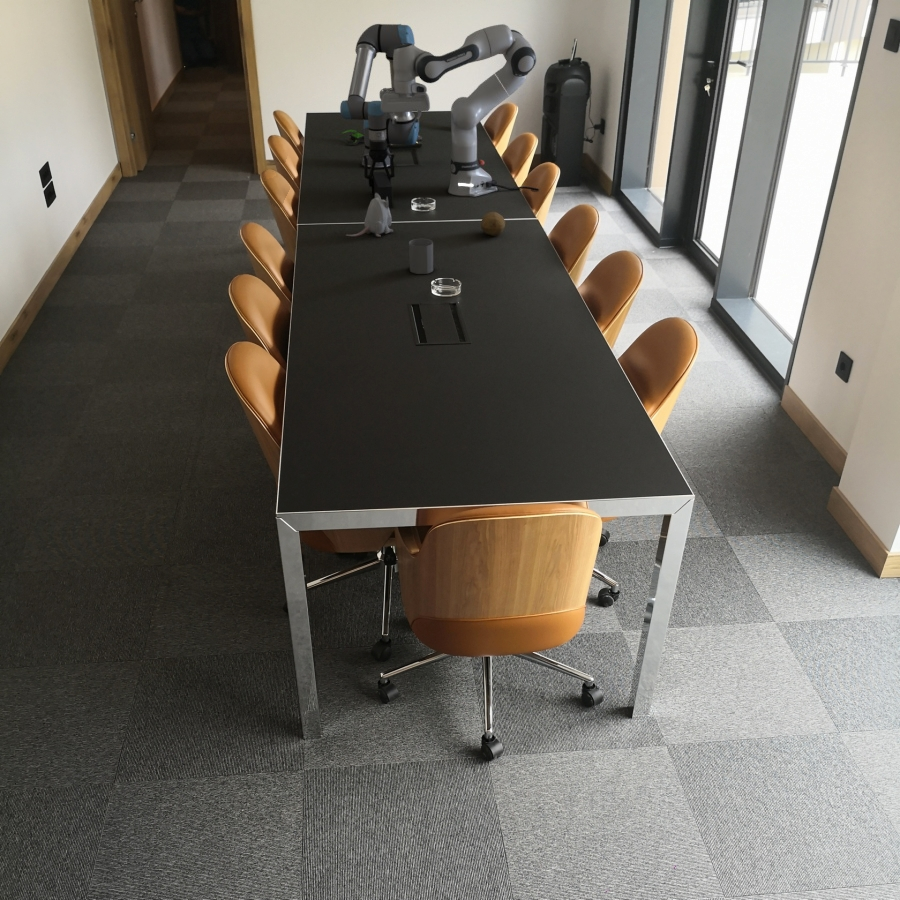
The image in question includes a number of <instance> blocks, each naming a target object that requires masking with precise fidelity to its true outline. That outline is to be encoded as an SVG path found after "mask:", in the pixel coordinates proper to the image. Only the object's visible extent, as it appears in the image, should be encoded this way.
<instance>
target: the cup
mask: <svg viewBox="0 0 900 900" xmlns="http://www.w3.org/2000/svg"><path fill="white" fill-rule="evenodd" d="M408 253H409V272H411V273H412V274H416V275H426V274H430V273H432V272H434V241H433V240H431V239H428V238H422V237H421V238H420V237H419V238H414V239H411V240H410V241H409V242H408Z"/></svg>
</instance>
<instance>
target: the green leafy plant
mask: <svg viewBox="0 0 900 900" xmlns="http://www.w3.org/2000/svg"><path fill="white" fill-rule="evenodd" d="M349 132H352V133H351V134H349V136H350V138H349V140H350V141H353V142H348V141H345V140H342V139H340V142H342V143H344V144H345V145H349V146H356V145H358V144H360V143H362V142H365V141H364V133H362V132H359V131H358V130H357V129H346V130H345V131H342V132H340V134H345V133H349Z"/></svg>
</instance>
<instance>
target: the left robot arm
mask: <svg viewBox="0 0 900 900" xmlns="http://www.w3.org/2000/svg"><path fill="white" fill-rule="evenodd" d="M404 43H412V44H413V45H414V46H415V44H416V43H415V35H414V32H413V29H412V27H411V26H410V25H408V24H401V23H399V24H398V23H397V24H396V23H385V24H384V23H375V24H372V25H369V27H367V28H366V29H365V30H364V31H362V34H361V35H360V36H359V38H358V40H357V42H356V45H355V54H356V55H355V56H356V57H355V60H354V61H355V62H354V65H353V70H352V75H351V81H350V86H349V91H348V96H347V99H346V100H342V101H341V102H340V106H339V110H340V111H339V112H340V116H341V118H342V119H345V120H350V121H351V120H359V121H360V120H361V121H363V134H364V141H363V142H364V151H363V154H362V159H361V166H362V167H363V170H364V172H363V173H364V174H363V175H364V178H365V179H366V180H368V186H369V188H371V195H372V196H374V181H373V178H372V176H373V172H375V170H381V169H384V172H385V173H386V175H387V177H388V179H389V182H390V184H391V185H392V183H391V181H392V178H395V166H394V165H395V164H394V158H395V154H394V152H393V151H392V150H390V147H389V145H403V146H404V145H405V146H410V145H411V146H412V145H415V144H416V143H417V141H418V138H419V130H420V122H419V123H415V118H416V115H415V113H414V112H393V115H392V116H393V118H396V124H393V123H392V118H391V116H390V114H389V113H383V112H382V111H381V100H371V101H366V97H367V92H368V88H369V82H370V78H371V72H372V68H373V63H374V59H376V57H377V54H378V53H379V54H385V59H386V60H387V61H388V62H389V73H390V88H394V69H393V55H394V49H395V48H396V46H398V45H400V44H404ZM389 168H390V171H389ZM368 169H369V172H368Z"/></svg>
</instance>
